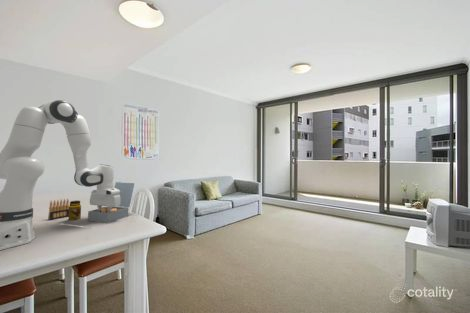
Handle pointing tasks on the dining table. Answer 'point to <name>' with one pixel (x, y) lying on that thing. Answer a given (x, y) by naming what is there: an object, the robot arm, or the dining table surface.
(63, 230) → the dining table surface
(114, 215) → the housing
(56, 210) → the ammunition clip
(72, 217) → the condiment
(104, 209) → the brown wide rounded part
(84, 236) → the dining table surface
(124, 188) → the lid
